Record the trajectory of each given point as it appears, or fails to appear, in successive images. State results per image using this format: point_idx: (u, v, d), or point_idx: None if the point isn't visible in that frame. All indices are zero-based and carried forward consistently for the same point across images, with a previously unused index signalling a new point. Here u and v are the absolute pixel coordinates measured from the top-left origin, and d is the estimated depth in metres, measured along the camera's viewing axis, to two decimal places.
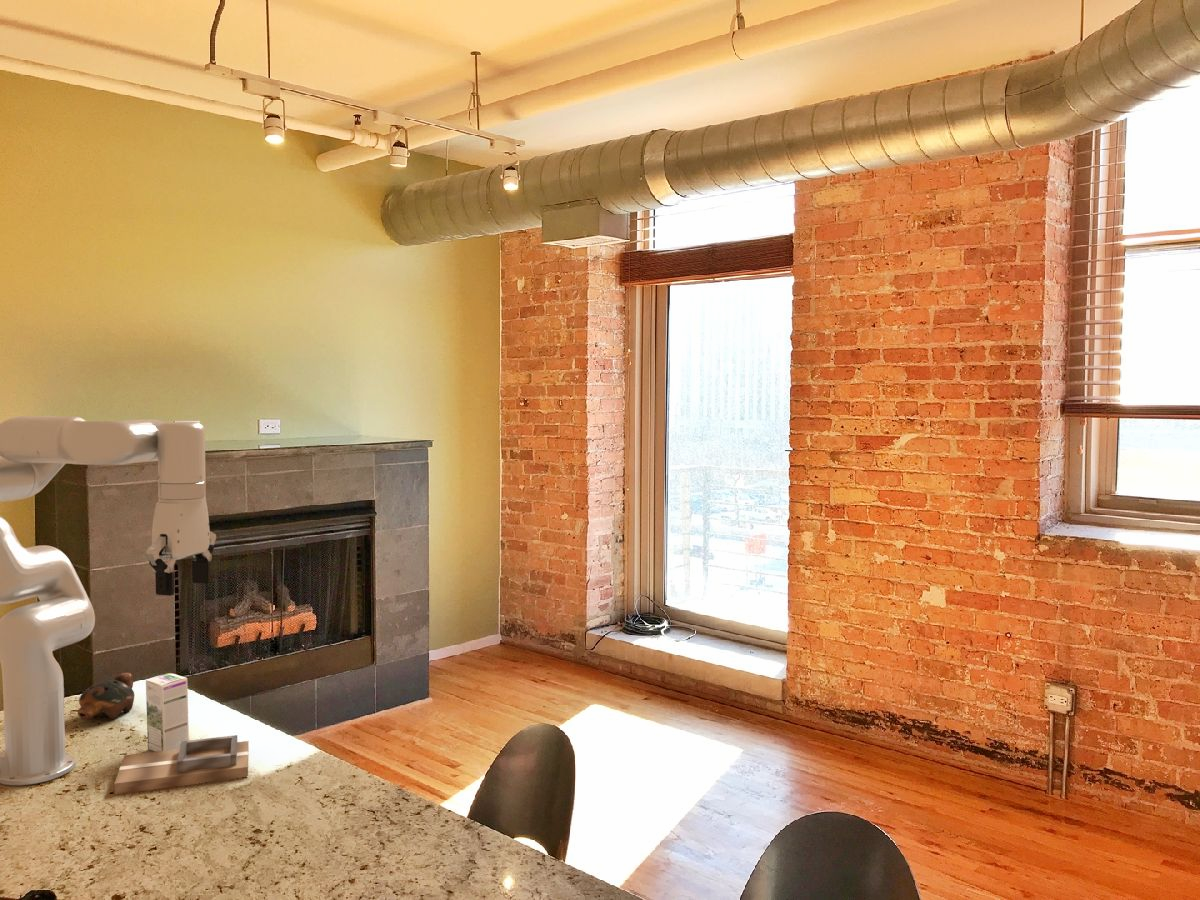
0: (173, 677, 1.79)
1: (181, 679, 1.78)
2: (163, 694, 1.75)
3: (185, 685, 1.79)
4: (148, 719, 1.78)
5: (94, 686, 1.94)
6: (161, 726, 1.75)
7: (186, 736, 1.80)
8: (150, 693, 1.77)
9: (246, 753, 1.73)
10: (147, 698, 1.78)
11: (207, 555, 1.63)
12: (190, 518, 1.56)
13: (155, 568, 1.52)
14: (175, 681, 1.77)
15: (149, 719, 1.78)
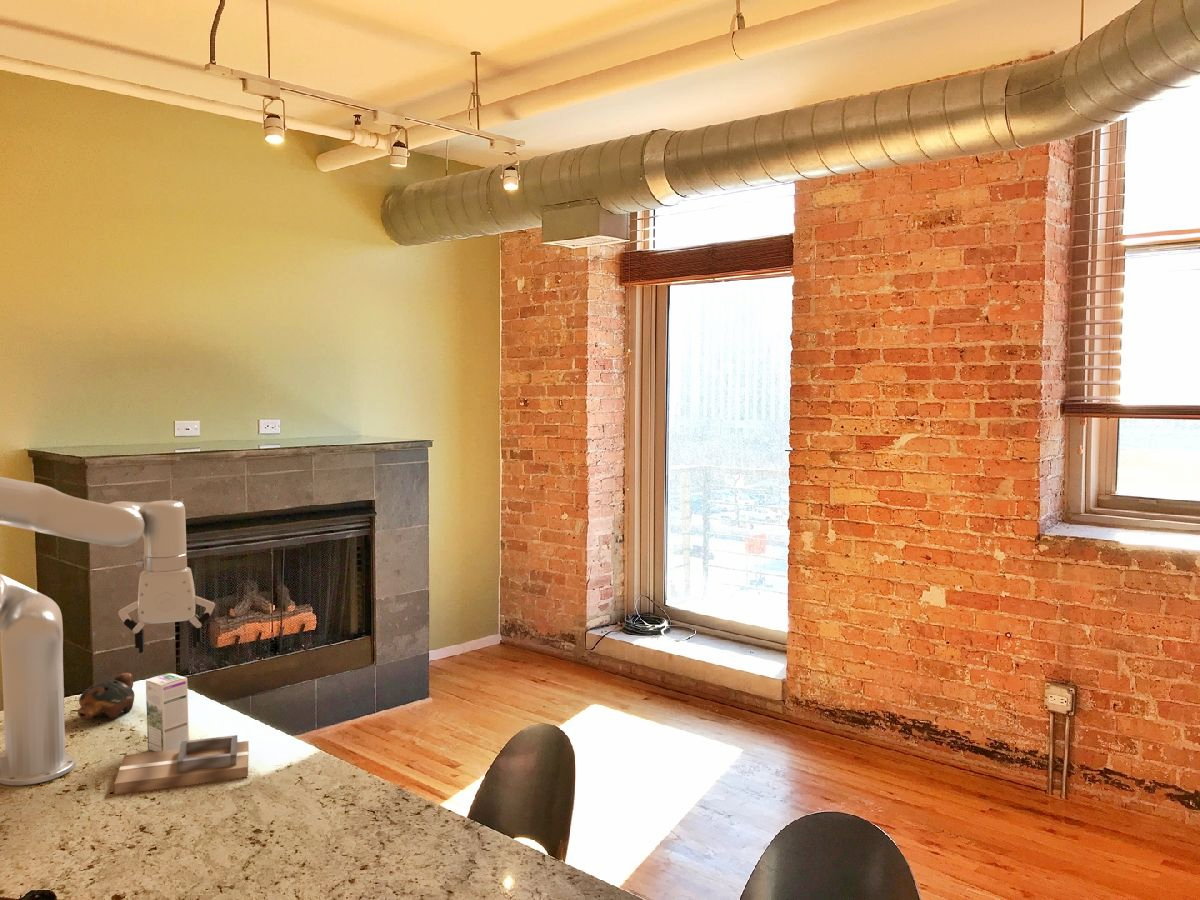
0: (173, 677, 1.79)
1: (181, 679, 1.78)
2: (163, 694, 1.75)
3: (185, 685, 1.79)
4: (148, 719, 1.78)
5: (94, 686, 1.94)
6: (161, 726, 1.75)
7: (186, 736, 1.80)
8: (150, 693, 1.77)
9: (246, 753, 1.73)
10: (147, 698, 1.78)
11: None
12: None
13: (204, 621, 1.80)
14: (175, 681, 1.77)
15: (149, 719, 1.78)
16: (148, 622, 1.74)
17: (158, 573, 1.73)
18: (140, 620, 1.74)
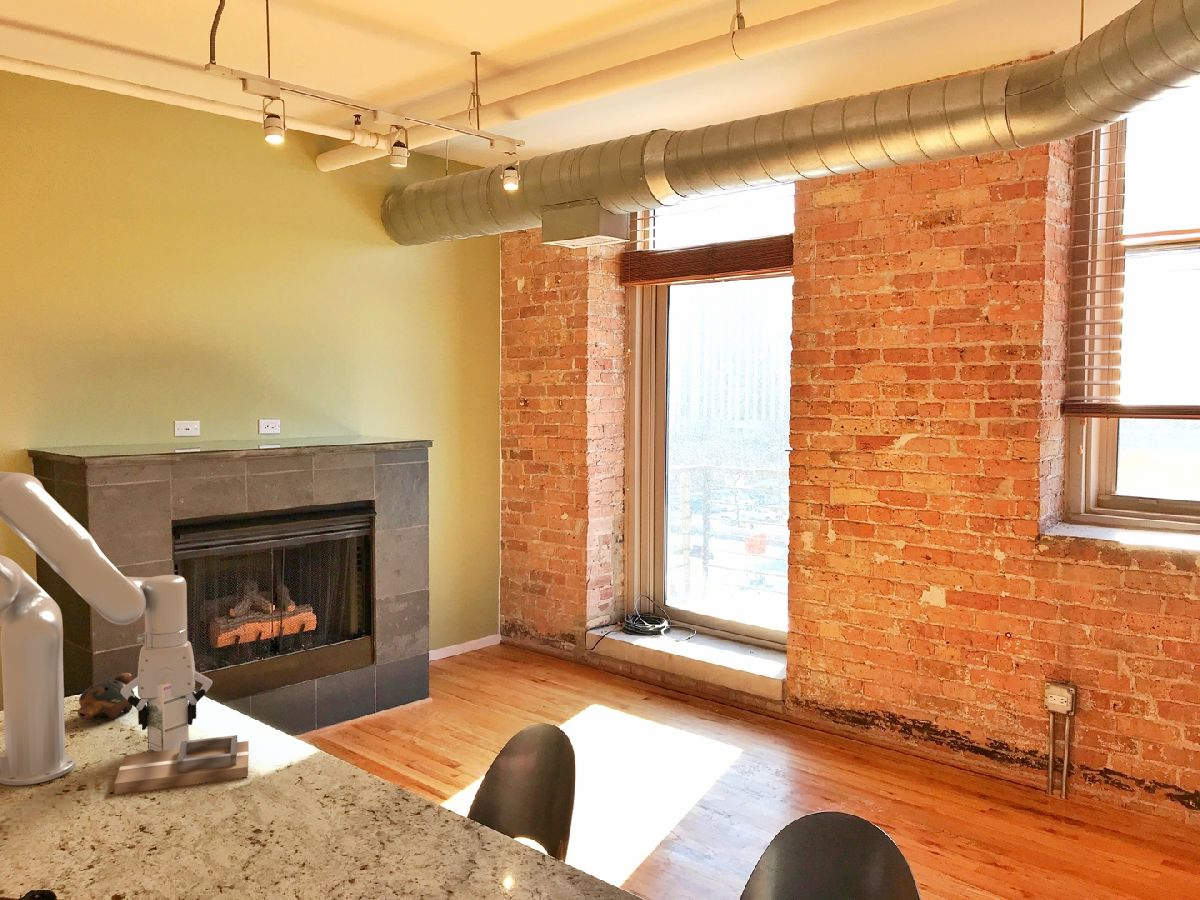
0: None
1: None
2: (163, 694, 1.75)
3: None
4: (148, 719, 1.78)
5: (94, 686, 1.94)
6: (161, 726, 1.75)
7: (186, 736, 1.80)
8: None
9: (246, 753, 1.73)
10: None
11: None
12: None
13: None
14: None
15: (149, 719, 1.78)
16: (148, 698, 1.75)
17: (158, 649, 1.74)
18: (140, 696, 1.75)
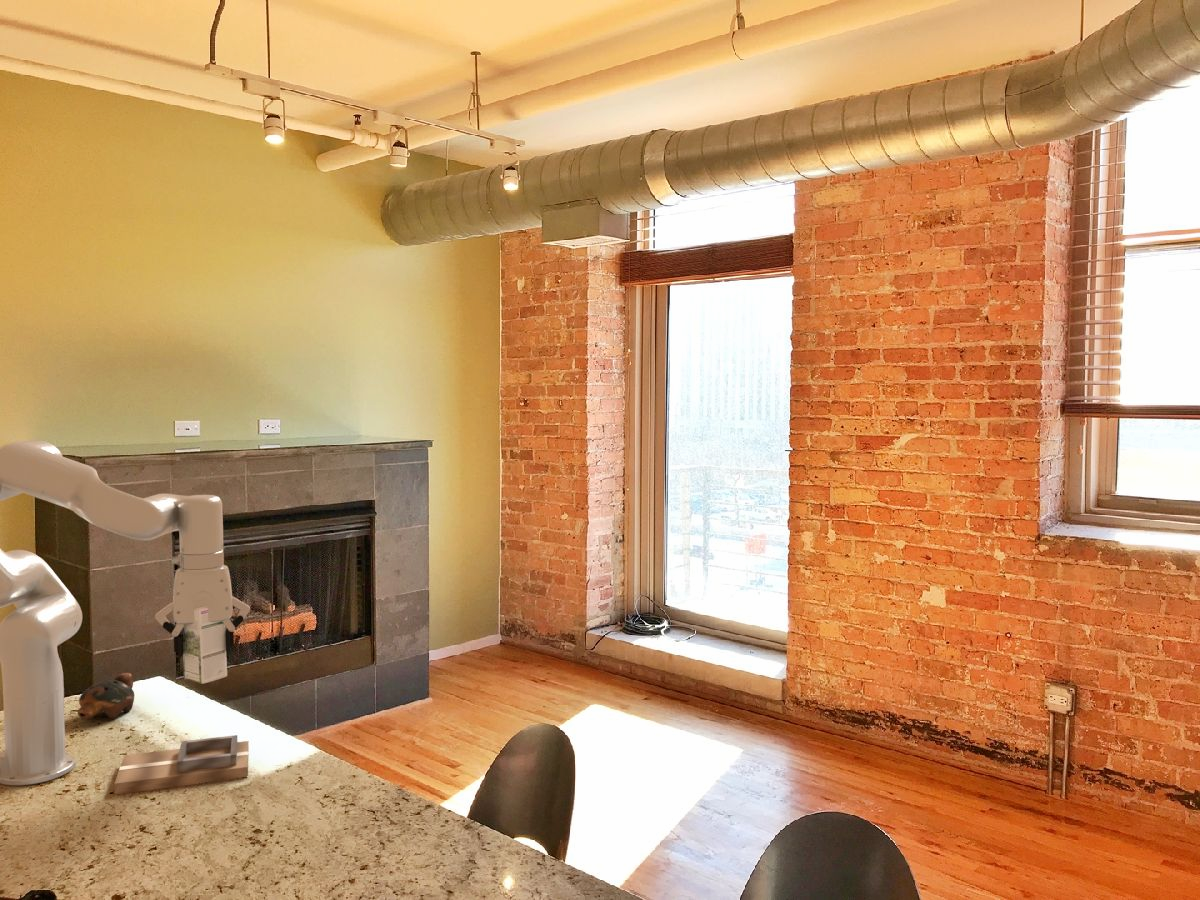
0: None
1: None
2: (201, 618, 1.66)
3: None
4: (184, 646, 1.69)
5: (94, 686, 1.94)
6: (199, 652, 1.66)
7: (224, 665, 1.71)
8: None
9: (246, 753, 1.73)
10: None
11: None
12: None
13: None
14: None
15: (185, 646, 1.69)
16: (184, 622, 1.66)
17: (195, 571, 1.65)
18: (176, 620, 1.66)
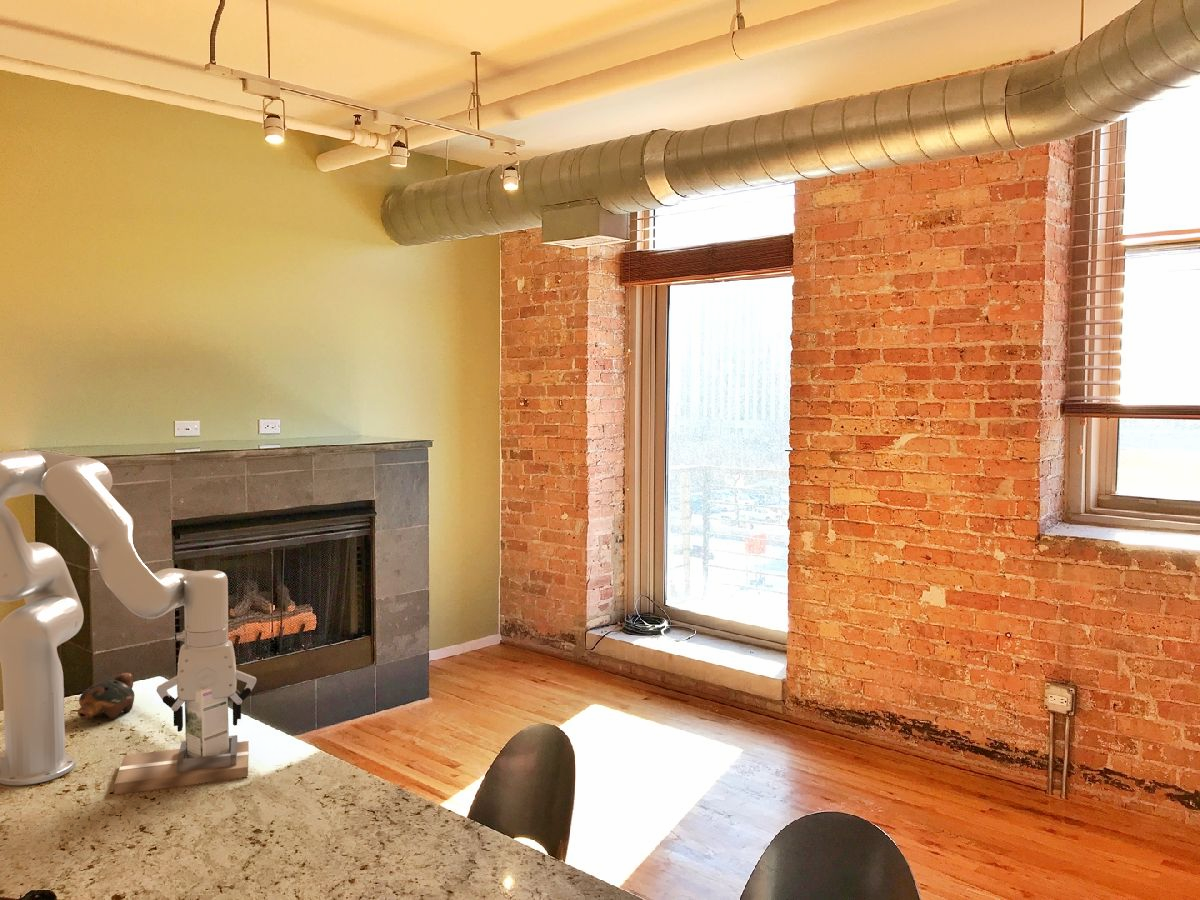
0: None
1: None
2: (203, 700, 1.66)
3: None
4: (186, 727, 1.69)
5: (94, 686, 1.94)
6: (200, 734, 1.66)
7: (226, 745, 1.71)
8: None
9: (246, 753, 1.73)
10: (185, 705, 1.69)
11: None
12: None
13: (245, 697, 1.72)
14: None
15: (188, 726, 1.69)
16: (188, 699, 1.66)
17: (199, 648, 1.65)
18: (179, 697, 1.66)
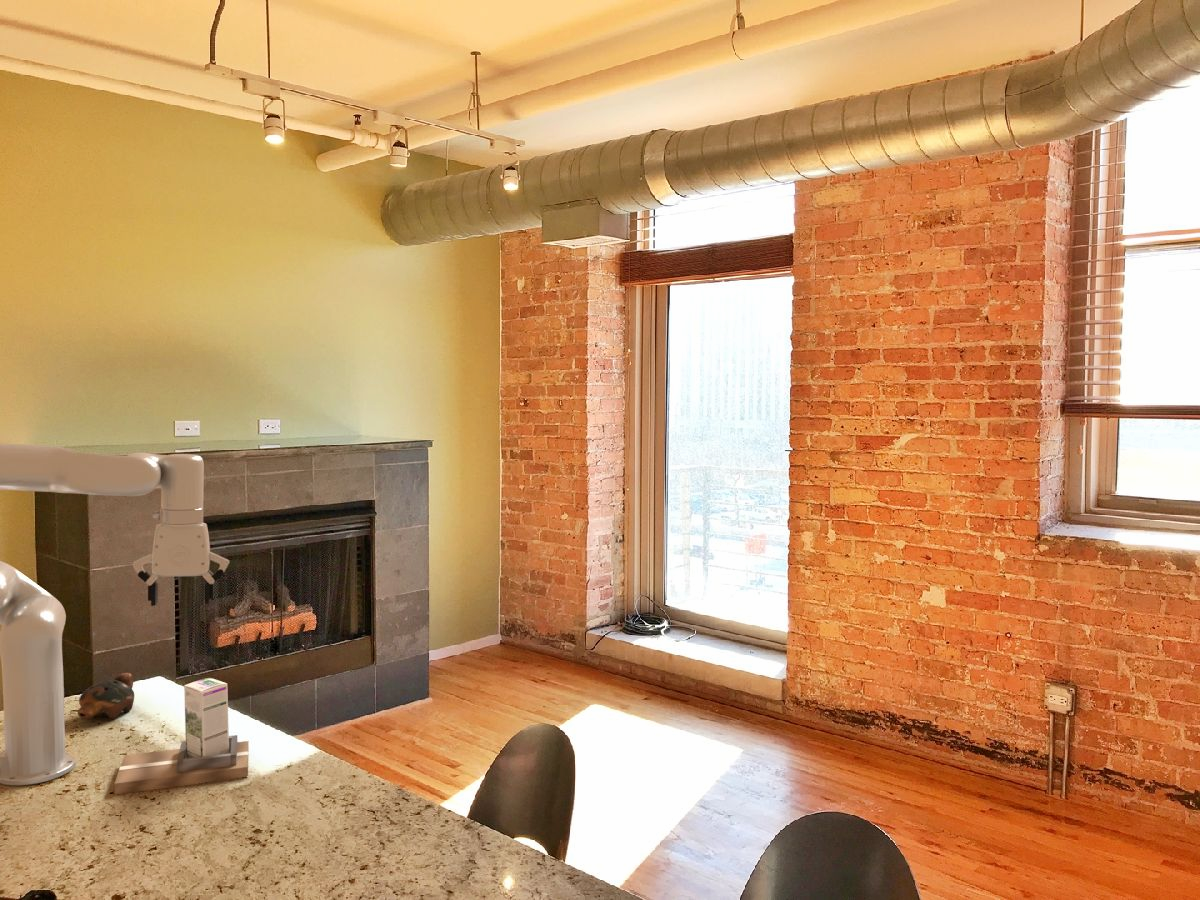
0: (213, 682, 1.70)
1: (221, 684, 1.69)
2: (203, 700, 1.66)
3: (225, 691, 1.70)
4: (186, 727, 1.69)
5: (94, 686, 1.94)
6: (200, 734, 1.66)
7: (226, 745, 1.71)
8: (189, 699, 1.68)
9: (246, 753, 1.73)
10: (185, 705, 1.69)
11: None
12: None
13: None
14: (215, 687, 1.68)
15: (188, 726, 1.69)
16: (161, 575, 1.73)
17: (173, 526, 1.72)
18: (153, 572, 1.73)
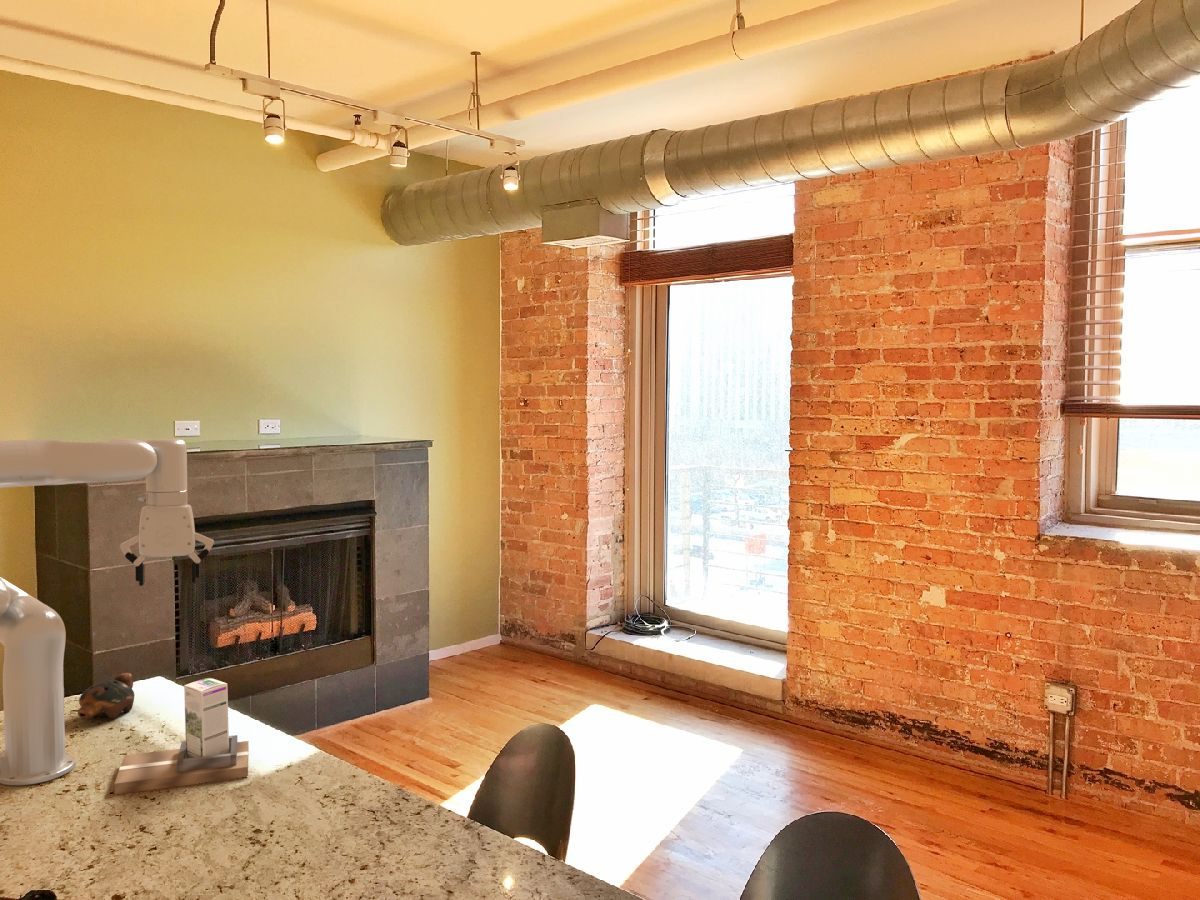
0: (213, 682, 1.70)
1: (221, 684, 1.69)
2: (203, 700, 1.66)
3: (225, 691, 1.70)
4: (186, 727, 1.69)
5: (94, 686, 1.94)
6: (200, 734, 1.66)
7: (226, 745, 1.71)
8: (189, 699, 1.68)
9: (246, 753, 1.73)
10: (185, 705, 1.69)
11: None
12: None
13: (203, 557, 1.85)
14: (215, 687, 1.68)
15: (188, 726, 1.69)
16: (149, 555, 1.79)
17: (159, 507, 1.78)
18: (141, 553, 1.78)
